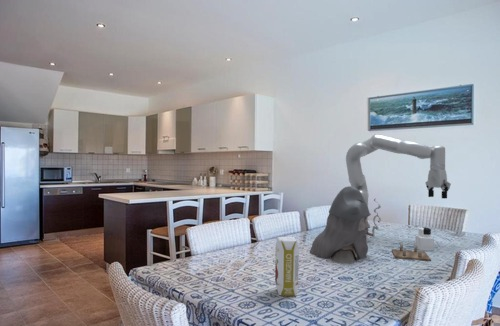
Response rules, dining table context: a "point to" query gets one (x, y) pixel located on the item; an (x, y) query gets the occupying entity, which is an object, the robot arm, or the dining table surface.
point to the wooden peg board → (410, 254)
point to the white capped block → (425, 239)
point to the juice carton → (287, 266)
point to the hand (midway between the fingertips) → (437, 197)
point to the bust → (345, 228)
